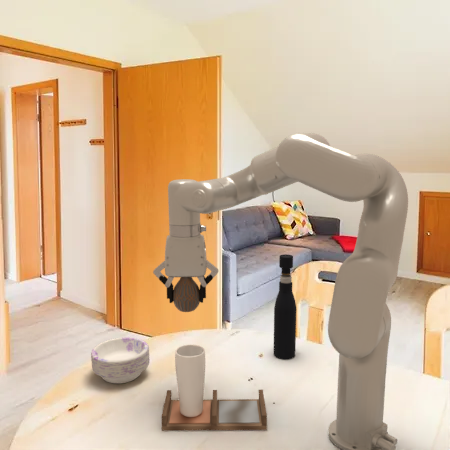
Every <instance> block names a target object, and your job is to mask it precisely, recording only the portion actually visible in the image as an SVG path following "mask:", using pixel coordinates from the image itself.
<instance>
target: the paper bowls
mask: <svg viewBox="0 0 450 450" xmlns="http://www.w3.org/2000/svg"><path fill="white" fill-rule="evenodd" d="M90 360H91V370H92V372H93V373H94V374H95V375H97V376H99V377H101V378H102V379H103V380H104V381H105V382H107V383H110V384H124V383H129V382H132V381H134V380H136V379H137V378H139V377H140V375H141V374H142V373H143V371H145V370H146V369H147V368H148V366H149V365H150V347H149V344H148V343H147V342H146V341H145V340H143V339H141V338H137V337H131V336H130V337H129V336H128V337H117V338H111V339H108V340H104V341H102V342H100V343H98V344H97V345H96V346H94V347H93V348H92V350H91V352H90Z"/></svg>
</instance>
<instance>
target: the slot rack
mask: <svg viewBox="0 0 450 450" xmlns="http://www.w3.org/2000/svg"><path fill="white" fill-rule="evenodd" d="M165 393H166V395H165V399H164V404H163V408H162V412H161V431H175V432H176V431H267V430H268V425H267V423H268V414H267V408H266V403H265V402H266V401H265V397H264V396H265V395H264V389H258V398H256V399H255V398H250V399H248V398H247V399H245V398H244V399H243V398H242V399H241V398H239V399H238V398H236V399H235V398H231V399H230V398H229V399H228V398H227V399H222V398H221V399H218V390H217V389H213V390H212V399H203V411H202V413H201V414H200V415H198V416H196V417H186V416H184V415H182V414H181V412H180V402H179V399H173V398H172V390H171V389H168V390H166V392H165Z"/></svg>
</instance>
